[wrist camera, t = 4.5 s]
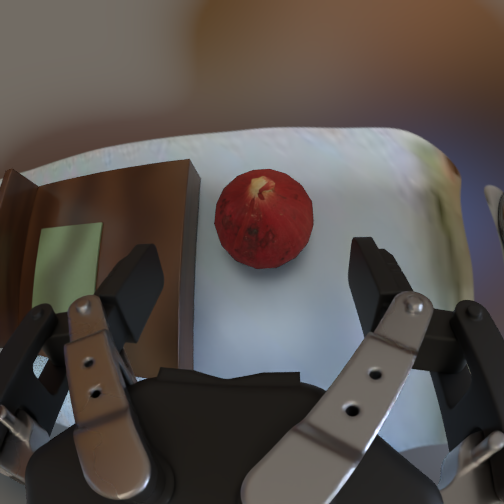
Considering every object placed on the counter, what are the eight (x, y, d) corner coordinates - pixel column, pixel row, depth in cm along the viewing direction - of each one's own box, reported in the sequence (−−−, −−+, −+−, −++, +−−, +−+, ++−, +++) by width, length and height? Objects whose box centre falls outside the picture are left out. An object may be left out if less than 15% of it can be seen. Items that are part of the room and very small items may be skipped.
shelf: (200, 177, 23) (171, 124, 16) (193, 375, 19) (151, 395, 12) (49, 199, 24) (5, 170, 18) (32, 347, 21) (-22, 344, 14)
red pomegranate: (292, 289, 20) (297, 266, 12) (215, 261, 21) (176, 223, 13) (318, 214, 21) (334, 153, 13) (245, 190, 22) (225, 125, 14)
